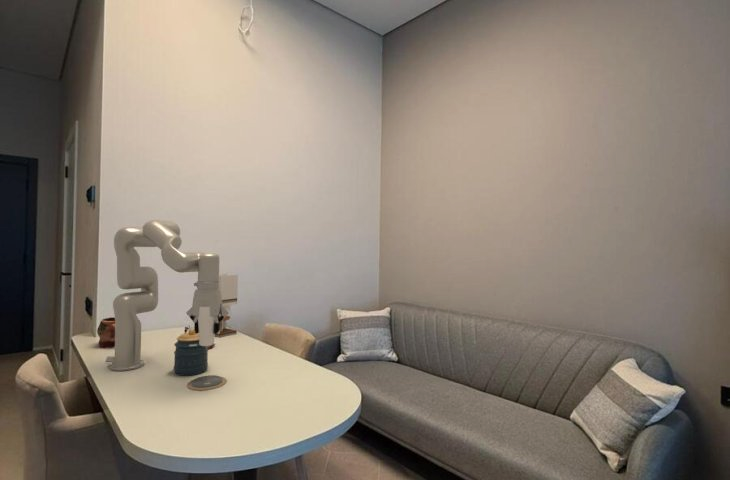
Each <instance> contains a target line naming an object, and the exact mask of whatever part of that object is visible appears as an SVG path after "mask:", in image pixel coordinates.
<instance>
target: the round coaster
mask: <svg viewBox="0 0 730 480" xmlns="http://www.w3.org/2000/svg"><path fill="white" fill-rule="evenodd" d="M227 382H228V381H227V378H226V377H223V376H220V375H215V374H213V375H212V374H210V375H202V376H198V377H196V378H194V379H191V380H190V381H188V382H187V384H186V387H187V388H188V389H189V390H192V391H209V390H215V389H217V388H220V387H223V386H224V385H226V384H227Z"/></svg>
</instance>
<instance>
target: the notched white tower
mask: <svg viewBox="0 0 730 480" xmlns="http://www.w3.org/2000/svg"><path fill="white" fill-rule="evenodd" d="M238 278H239V275H238V274H231V275H230V274H228V273H219V289H220V290H221V296H222V306H223V307H224V308H225V309H226V310H227V311H228V312H229V314H228V315H227V316H226V317H225V318H224V319H223V320H222V321H221V322H220V330H219V332H218V333H217V334H215V337H214V338H225V337H230V336H234V335H237V330H235V329H232V328H227V321H228V320H230V319H231V306H233V305H237V304H238V286H239V285H238V283H239V282H238ZM222 315H223V312H222V313H221V314H219V316H220V317H221V316H222Z"/></svg>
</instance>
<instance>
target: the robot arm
mask: <svg viewBox="0 0 730 480" xmlns="http://www.w3.org/2000/svg"><path fill="white" fill-rule="evenodd" d="M182 241H183V240H182V238H181V229H180V226H179V225H178V224H177V223H176V222H174V221H170V220H169V221H168V220H155V219H154V220H149V221H147V222H145V223H144V225H143V226H142V227H141V226H127V227H122V228H120V229H118V231H117V232H116V233H115V235H114V238H113V248H114V252H115V255H116V280H117V281H116V283H117V286H118V288H120V289H122V290H137V289H140V291H133V292H132V291H131V292H124V293H121V294H119V295H117V296H116V297H115V298H114V299H113V300H112V301H113V302H112V309H113V314H114V317H115V346H114V356H106V359H105V363H111V364H110V366H109V370H110V371H114V372H124V371H125V372H126V371H132V370H136V369H139V368H142V367H143V366H144V365H145V361H144V360H143V359H142V358H141V353H142V352H141V351H142V348H141V347H142V323H141V320H140V319H139V317H138V314H142V313H150V312H152V311H154V310H156V308H157V306H158V303H159V278H158V273H157V271H156V270H155V268H153V267H151V266H141V257H140V255H139V253H138V251H137V250H136V248H155V247H156V248H159V250H161V251H160V255H161V256H160V257H161V259H162V261H163V263H164V264H165V265H166V266H168V267H169V268H170V269H171V270H173V271H175V272H177V273H180V274H181V273H197V281H196V282H194V283H193V286H194V287H196V289H194V292H193V298H192V304H191V307H190V309H189V310H187V311H186V313H185V314H186V315H187V316H188V317H189V318H190V319H191V320H192V323H193V324H194V326H193V327H194V331H195V334H197V333H199V328H198V316H199V309H200V307H210V316H211V317H214V320H215V324H214V334H217V333H218V332H219V330H220V322H221V321H222V320H223V319H224V318H225V317H226V316H227V315H228V314H229V312H228V311H227V310H226V309H225V308H224V307H223V306H222V296H221V290H220V289H219V274H220V255H219V254H217V253H205V252H181V251H179V249H180V248H181V245H182ZM222 312H223V315H222V316H221V317H220V316H219V314H221V313H222Z"/></svg>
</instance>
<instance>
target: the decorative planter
mask: <svg viewBox="0 0 730 480" xmlns="http://www.w3.org/2000/svg"><path fill="white" fill-rule="evenodd" d="M96 332H97V335H98V337H99V340H98V347H100V348H101V347H102V348H101V349H106V348H107V347H108V348H115V316H114V317H106V318H102V319H101V320H100V323H99V325H98V327H97V330H96ZM108 348H107V349H108Z"/></svg>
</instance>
